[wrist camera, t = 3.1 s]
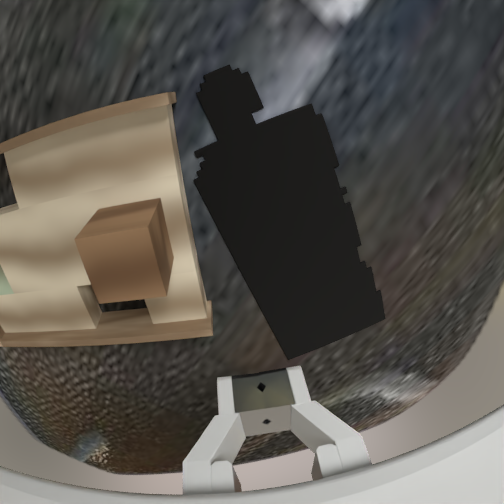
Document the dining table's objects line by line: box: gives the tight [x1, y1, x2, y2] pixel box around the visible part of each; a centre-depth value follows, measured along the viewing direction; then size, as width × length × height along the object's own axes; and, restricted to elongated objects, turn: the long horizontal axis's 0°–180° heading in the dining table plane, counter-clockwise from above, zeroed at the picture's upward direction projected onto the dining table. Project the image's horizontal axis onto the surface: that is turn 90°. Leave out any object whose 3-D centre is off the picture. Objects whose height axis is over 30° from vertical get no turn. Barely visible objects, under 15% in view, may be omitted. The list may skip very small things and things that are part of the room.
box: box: [0, 92, 213, 347], centre depth 23 cm, size 20×25×4 cm
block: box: [74, 198, 174, 304], centre depth 21 cm, size 5×5×5 cm
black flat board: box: [194, 65, 385, 360], centre depth 27 cm, size 12×1×30 cm
